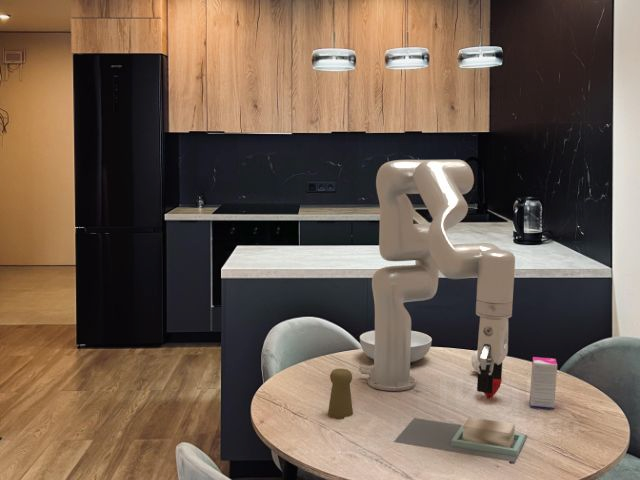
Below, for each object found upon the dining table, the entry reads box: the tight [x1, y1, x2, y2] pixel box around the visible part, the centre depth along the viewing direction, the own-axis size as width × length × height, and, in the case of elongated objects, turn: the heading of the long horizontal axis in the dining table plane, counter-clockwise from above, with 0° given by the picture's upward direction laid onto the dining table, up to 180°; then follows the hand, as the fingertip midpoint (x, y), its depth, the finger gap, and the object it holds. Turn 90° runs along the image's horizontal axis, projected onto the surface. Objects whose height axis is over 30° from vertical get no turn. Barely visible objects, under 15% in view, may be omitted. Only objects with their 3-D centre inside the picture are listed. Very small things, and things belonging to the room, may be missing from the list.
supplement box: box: [529, 356, 558, 410], centre depth 210 cm, size 6×6×12 cm
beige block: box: [462, 416, 516, 448], centre depth 185 cm, size 10×6×4 cm, turn 67°
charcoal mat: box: [393, 417, 528, 464], centre depth 187 cm, size 26×16×1 cm, turn 68°
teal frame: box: [451, 424, 526, 456], centre depth 185 cm, size 14×10×1 cm
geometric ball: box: [471, 349, 490, 374], centre depth 234 cm, size 8×8×8 cm
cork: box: [327, 368, 354, 420], centre depth 201 cm, size 6×6×11 cm
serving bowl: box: [359, 330, 433, 363], centre depth 247 cm, size 21×21×7 cm
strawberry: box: [478, 367, 503, 400], centre depth 214 cm, size 6×8×10 cm
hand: (489, 385), depth 183 cm, fingers open, 9 cm apart
